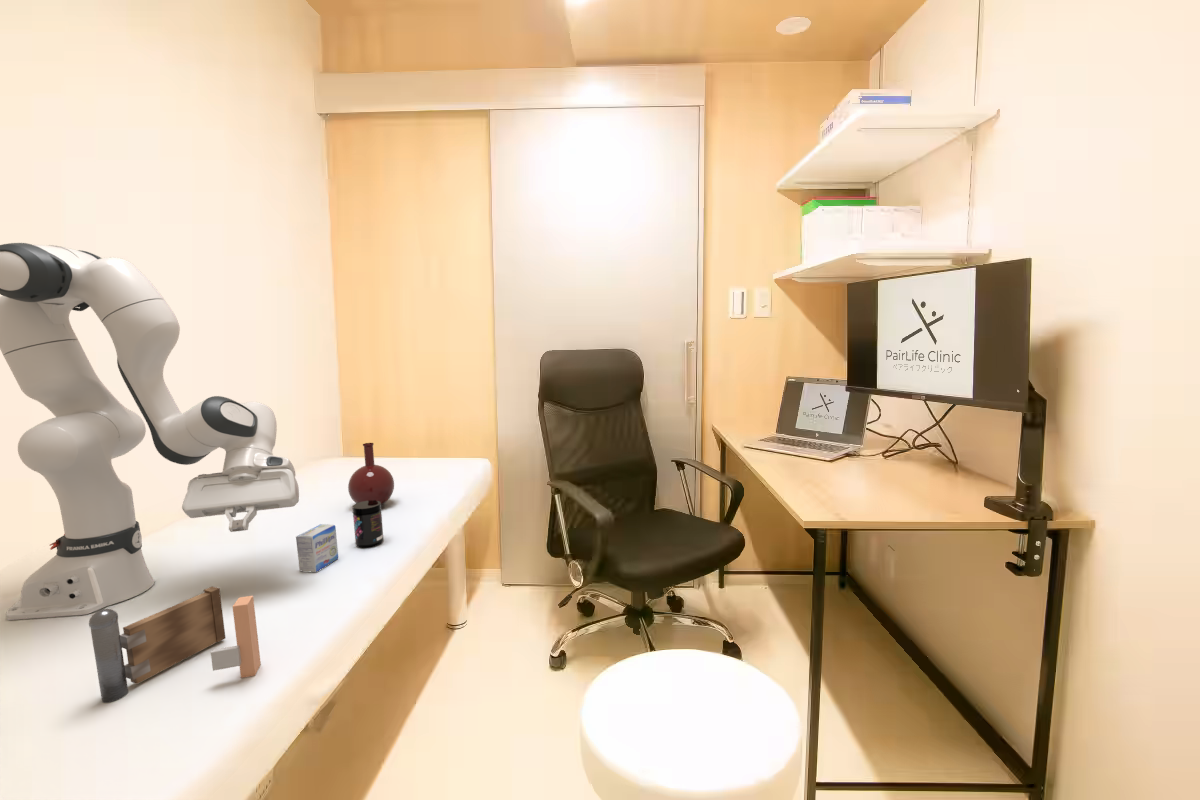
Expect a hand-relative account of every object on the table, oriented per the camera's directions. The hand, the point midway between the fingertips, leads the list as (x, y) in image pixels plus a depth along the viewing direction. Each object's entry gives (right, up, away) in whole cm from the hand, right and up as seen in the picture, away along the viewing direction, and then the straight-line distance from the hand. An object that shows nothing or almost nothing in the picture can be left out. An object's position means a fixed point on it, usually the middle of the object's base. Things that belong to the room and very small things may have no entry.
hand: (238, 529), depth 108 cm
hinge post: (-1, -19, -26) cm, 32 cm away
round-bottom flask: (+1, -8, +61) cm, 62 cm away
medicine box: (+6, -13, +19) cm, 24 cm away
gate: (+2, -17, -18) cm, 25 cm away
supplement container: (+13, -11, +32) cm, 36 cm away
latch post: (+14, -18, -21) cm, 31 cm away
